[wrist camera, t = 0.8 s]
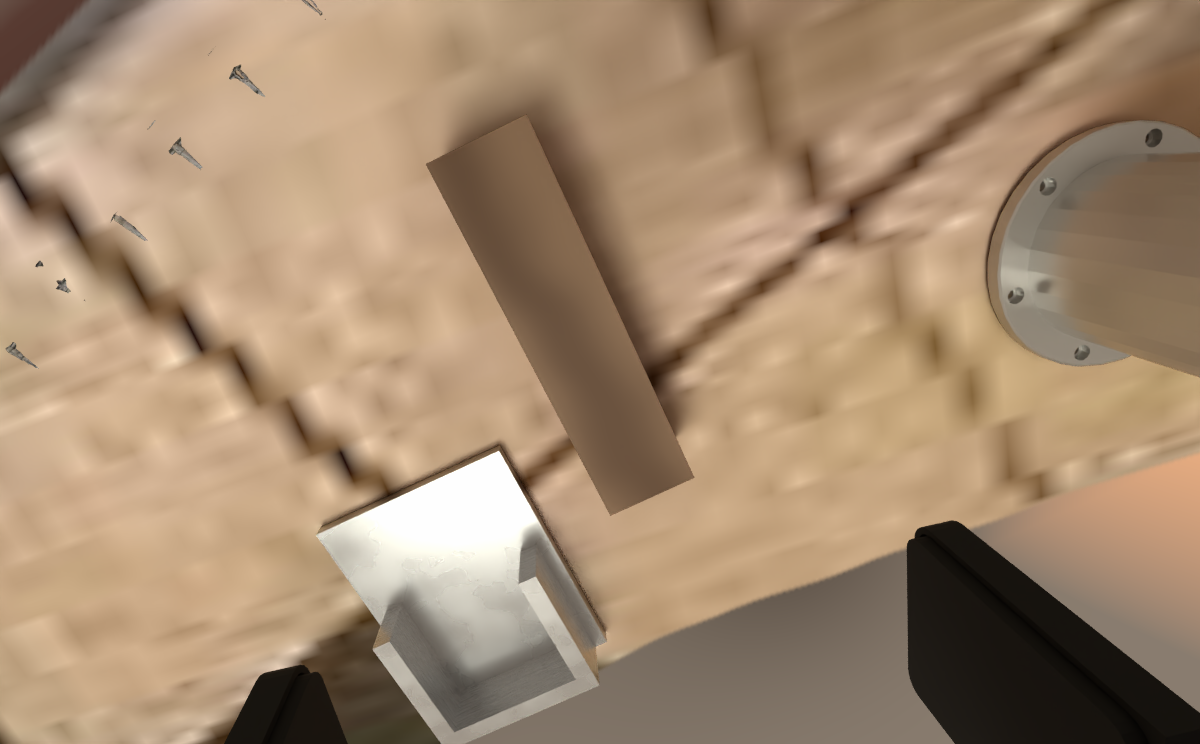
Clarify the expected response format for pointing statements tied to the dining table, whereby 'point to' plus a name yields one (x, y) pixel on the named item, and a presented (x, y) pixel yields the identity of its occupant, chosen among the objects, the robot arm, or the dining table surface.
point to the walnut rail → (561, 311)
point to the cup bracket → (469, 598)
